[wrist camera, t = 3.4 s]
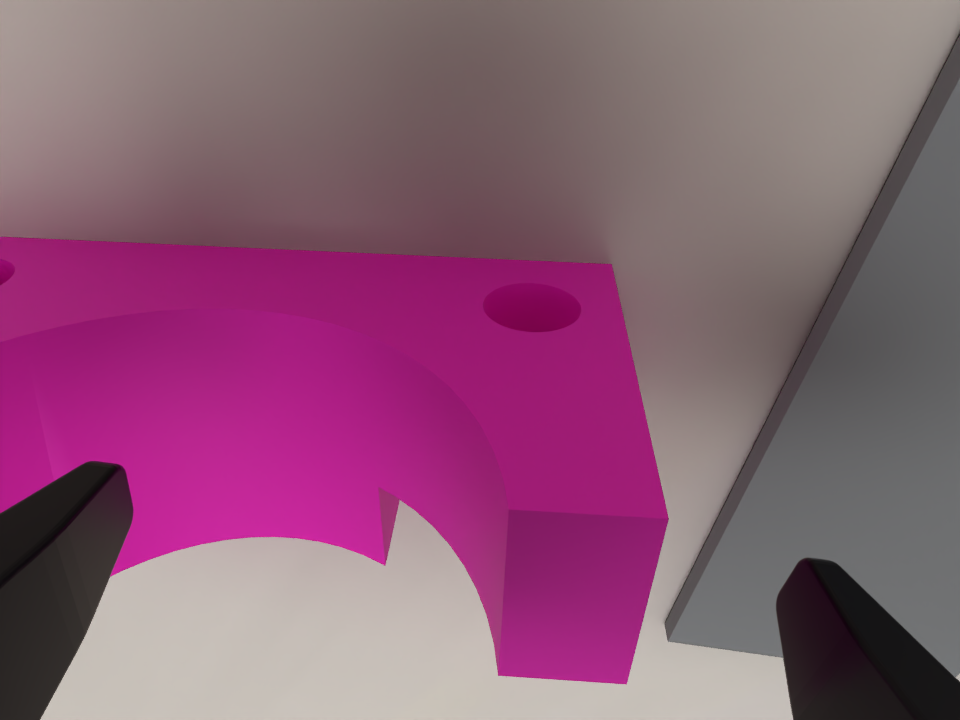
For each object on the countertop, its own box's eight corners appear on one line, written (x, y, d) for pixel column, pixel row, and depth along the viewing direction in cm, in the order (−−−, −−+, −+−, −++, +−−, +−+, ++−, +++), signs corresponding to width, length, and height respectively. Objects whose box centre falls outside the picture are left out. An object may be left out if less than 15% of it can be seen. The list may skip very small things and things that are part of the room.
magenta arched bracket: (37, 439, 19) (-203, 704, 13) (-59, 228, 15) (-455, 452, 9) (580, 470, 18) (606, 762, 12) (610, 258, 15) (668, 518, 9)
